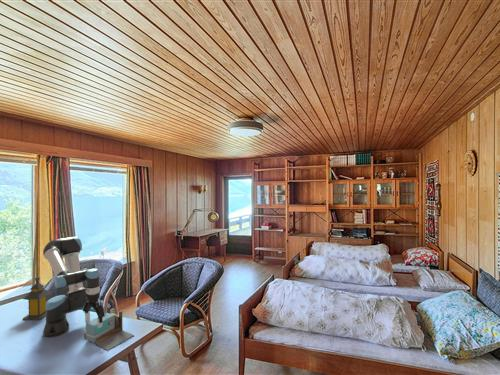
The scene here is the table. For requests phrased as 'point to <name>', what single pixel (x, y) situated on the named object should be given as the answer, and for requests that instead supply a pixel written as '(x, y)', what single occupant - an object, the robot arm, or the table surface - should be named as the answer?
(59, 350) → the table surface
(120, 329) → the shelf cradle
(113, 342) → the rubber mat
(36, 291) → the lantern
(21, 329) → the table surface
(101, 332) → the radio
